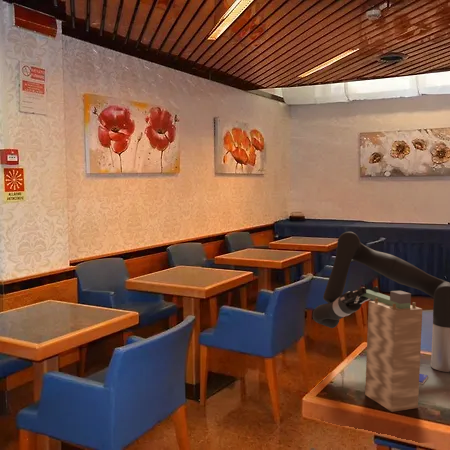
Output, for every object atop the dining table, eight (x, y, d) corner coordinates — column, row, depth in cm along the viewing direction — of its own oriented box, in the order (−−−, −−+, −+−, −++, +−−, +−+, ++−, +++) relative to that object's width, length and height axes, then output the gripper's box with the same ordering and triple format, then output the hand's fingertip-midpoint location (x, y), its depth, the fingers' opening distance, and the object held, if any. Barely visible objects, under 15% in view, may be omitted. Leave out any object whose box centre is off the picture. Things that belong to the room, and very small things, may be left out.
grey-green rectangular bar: (358, 294, 183) (359, 281, 182) (368, 294, 184) (369, 281, 184) (399, 308, 162) (400, 294, 162) (410, 308, 163) (411, 293, 163)
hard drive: (428, 374, 192) (394, 367, 199) (422, 381, 185) (388, 373, 192) (428, 379, 192) (394, 371, 199) (422, 385, 185) (387, 378, 192)
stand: (365, 394, 175) (368, 296, 172) (389, 391, 178) (393, 295, 176) (391, 411, 162) (396, 306, 159) (417, 407, 165) (422, 304, 162)
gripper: (327, 295, 193) (351, 280, 178) (360, 293, 197) (385, 278, 183) (332, 315, 190) (356, 301, 175) (365, 312, 194) (391, 298, 180)
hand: (371, 289), depth 179 cm, fingers open, 4 cm apart
